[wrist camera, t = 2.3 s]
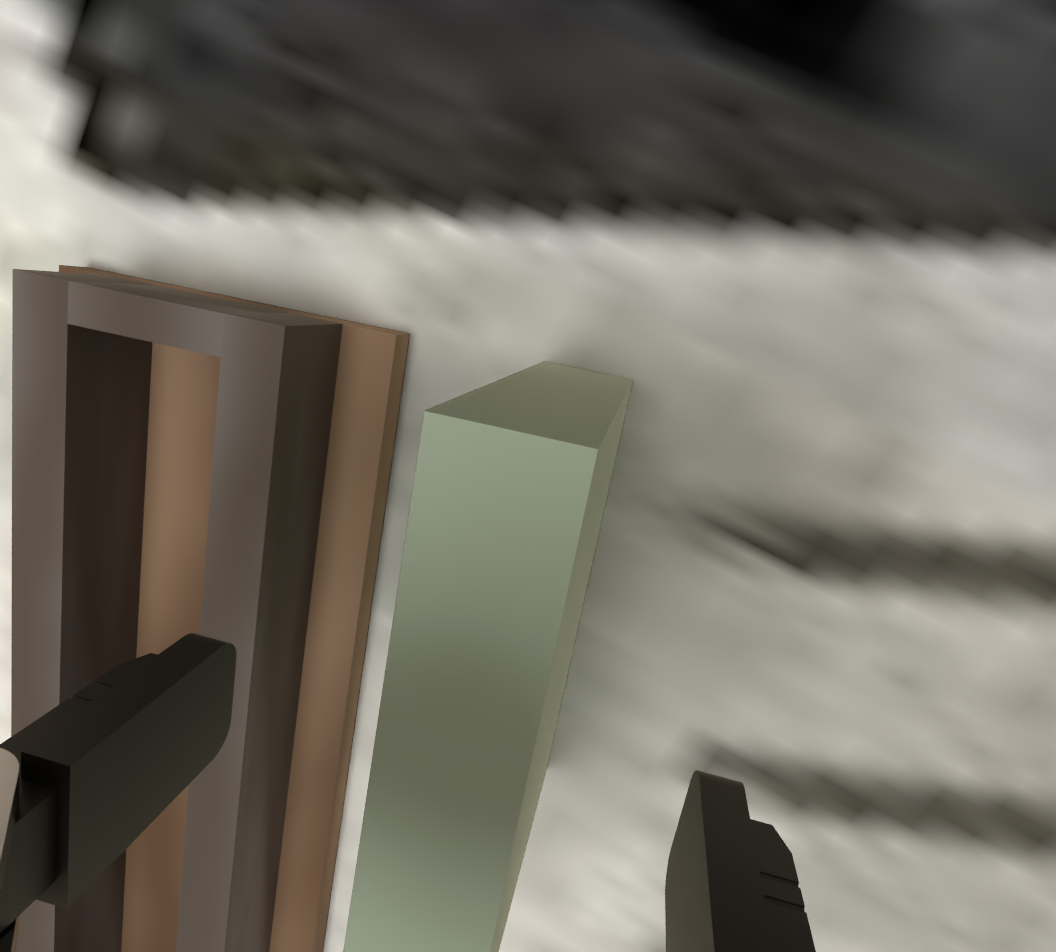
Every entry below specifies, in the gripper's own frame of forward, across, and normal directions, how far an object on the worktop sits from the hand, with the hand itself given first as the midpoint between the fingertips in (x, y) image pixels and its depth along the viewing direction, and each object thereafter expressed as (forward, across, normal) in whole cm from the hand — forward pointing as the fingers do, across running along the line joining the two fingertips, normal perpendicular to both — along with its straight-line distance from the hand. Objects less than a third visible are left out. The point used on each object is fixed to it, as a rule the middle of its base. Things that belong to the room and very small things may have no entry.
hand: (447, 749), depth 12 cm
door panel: (+9, 0, 0) cm, 9 cm away
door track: (+9, +10, +7) cm, 15 cm away
